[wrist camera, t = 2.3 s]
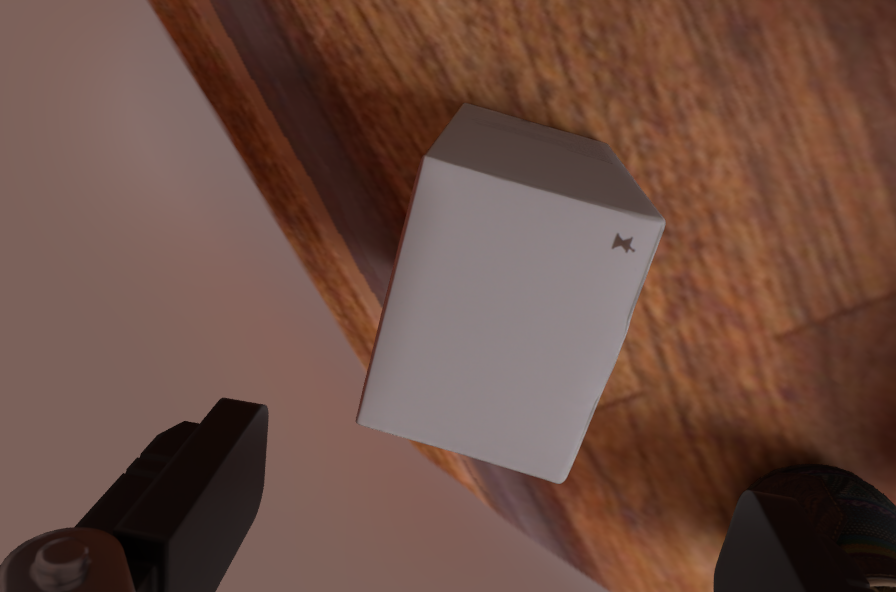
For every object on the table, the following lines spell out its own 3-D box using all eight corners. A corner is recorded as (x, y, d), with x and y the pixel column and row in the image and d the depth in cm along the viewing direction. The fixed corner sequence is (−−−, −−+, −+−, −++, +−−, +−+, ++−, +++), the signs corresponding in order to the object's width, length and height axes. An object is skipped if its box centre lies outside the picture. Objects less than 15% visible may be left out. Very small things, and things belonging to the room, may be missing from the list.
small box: (461, 99, 29) (421, 146, 17) (611, 141, 29) (676, 218, 17) (414, 279, 32) (350, 429, 20) (550, 318, 32) (569, 491, 20)
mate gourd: (911, 506, 34) (1061, 687, 25) (782, 596, 36) (875, 792, 27) (808, 412, 33) (925, 565, 23) (682, 512, 35) (742, 686, 26)
